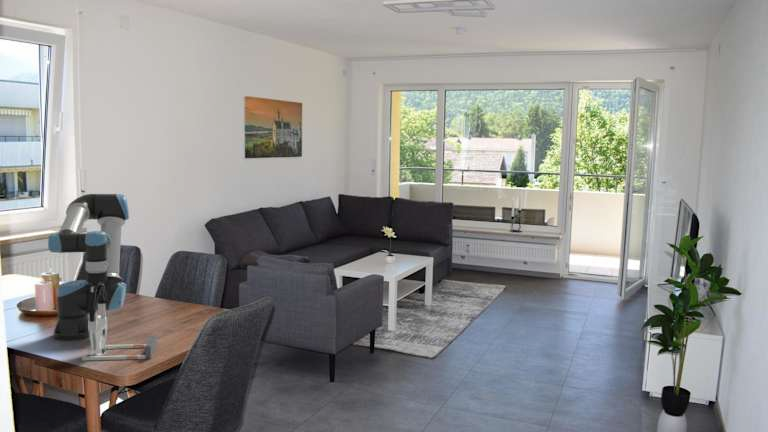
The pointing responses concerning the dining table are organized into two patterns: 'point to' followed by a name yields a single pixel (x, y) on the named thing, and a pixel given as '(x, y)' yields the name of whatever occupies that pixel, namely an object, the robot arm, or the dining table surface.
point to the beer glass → (98, 336)
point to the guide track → (148, 347)
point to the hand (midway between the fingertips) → (97, 324)
